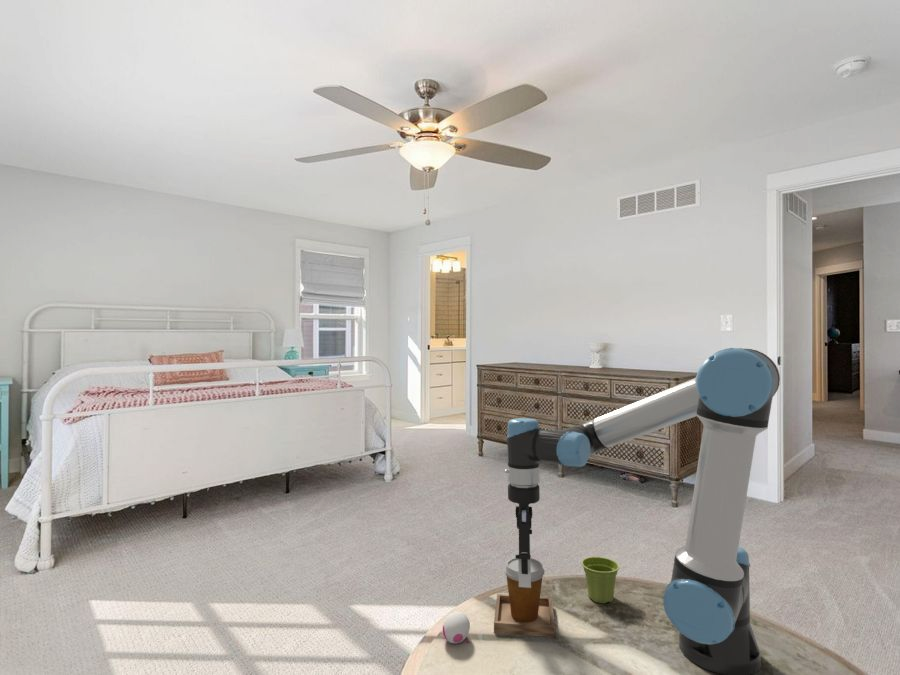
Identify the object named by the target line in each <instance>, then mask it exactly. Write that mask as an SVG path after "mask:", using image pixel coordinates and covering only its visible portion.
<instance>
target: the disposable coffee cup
mask: <svg viewBox="0 0 900 675" xmlns="http://www.w3.org/2000/svg"><path fill="white" fill-rule="evenodd" d="M503 570H504V573H505V576H506V582H507V583H506V584H507V591H508V594H509V600H510V608H511V616H512V617H513V618H514V619H515V620H517V621H520V622H532V621H535V620H536V619H537V618H538V610H539V602H540V597H541V592H542V591H541V590H542V584H543V577H544V575H545V568H544V567H543V564H542V562H540V561H539V560H537V559H535V558H533V557H531V588H526V587H519V566H518V559H516V557H512V558H510V559H508V560H507V561H506V563H505V566H504V568H503Z"/></svg>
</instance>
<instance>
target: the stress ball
mask: <svg viewBox="0 0 900 675" xmlns="http://www.w3.org/2000/svg"><path fill="white" fill-rule="evenodd" d="M470 623H471V622H470V619H469V617H468V616H467V614H466V613H464V612H462V611H453V612H451V613H450V614H448V615H447V616H446V617H445V619H444V621H443V624H442V634H443V638H444V640H446V641H447V642H448V643H450V644H459V643H462V642H463V641H464V640H465V639H466V643H467V644H468V643H469V640H468V639H467V636H468V635H469V632H470V628H471V624H470Z"/></svg>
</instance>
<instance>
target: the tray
mask: <svg viewBox="0 0 900 675" xmlns="http://www.w3.org/2000/svg"><path fill="white" fill-rule="evenodd" d="M494 608H495V611H494V618H493V620H494V621H493V633H495V634H496V633H497V634H507V635H509V634H510V635H520V636H521V635H522V636H532V637H533V636H534V637H546V638H556V624H555V616H554V605H553V598H552V597H549V596H548V597H547V596H540V602H539V610H538V618H537V619H536V620H535V621H532V622H520V621H517V620H515V619H514V618H513V617H512V616H511V608H510V600H509V593H508V594H506V593H497V594H496V601H495V607H494Z"/></svg>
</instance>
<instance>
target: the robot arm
mask: <svg viewBox="0 0 900 675" xmlns="http://www.w3.org/2000/svg"><path fill="white" fill-rule="evenodd" d="M780 381H781V378H780V372H779V368H778V367H777V365H776V363H775V362H774V361H773V359H772V358H770V357H769V356H768V355H766V354H765V353H763V352H762V351H759V350H756V349H751V348H742V347H740V348H738V347H729V348H725V349H720V350H718V351H716V352H714V353H713V354H711V355H710V356H708V357H707V358H706V359H705V360H704V361H703V362H702V363H701V365H700V367H699V368H698V370H697V373H696V376H695V377H694V378H692V379H689V380H687V381H684V382H682V383H679V384H676V385H675V386H671V387H669V388H666V389H665V390H663V391H659V392H656V393H655V394H651V395H649V396H647V397H644V398H642V399H640V400H637V401H635V402H632V403H629V404H628V405H625V406H623V407H620V408H617V409H616V410H612V411H610V412H608V413H605V414H603V415H601V416H598V417H595V418H593V419H590V420H588V421H586V422H583V423H580V424H578V425H575V426H572V427H567V428H564V429H560V430H555V429H543V428H540V425H539V421H538V419H535V418H527V417H518V418H517V417H516V418H513V419H510V420H509V421H508V422H507V432H506V433H507V436H506V444H507V469H505V470H504V472H505V474H507V482H508V484H507V499H508V500H509V501H510V502H511V503H514V504H518V505H517V506H515V518H516V528H517V529H518V554H515V558H516V559H518V566H519V587H526V588H531V558H532V556H531V535H533V529H532V518H533V506H530V505H531V504H536V503H538V502H540V498H541V497H540V496H541V495H540V485H539V483H540V479H541V478H540V462H541V463H547V464H553V465H561V466H566V467H568V468H569V467H570V468H571V467H578V468H581V467H584V466H585V465H586V464H587V463H588V461H589V458H590V455H593V454H596V453H598V452H601V451H604V450H606V449H609V448H611V447H614V446H617V445H620V444H622V443H626V442H628V441H631V440H634V439H637V438H639V437H642V436H645V435H649V434H650V433H654V432H656V431H659V430H662V429H664V428H668V427H670V426H673V425H675V424H679V423H680V422H681V423H682V422H683V421H687V420H689V419H692V418H695V417H697V418H698V419H699V421H700V422H701V423H702V425H703V428H702V433H701V434H702V435H701V440H700V447H699V449H700V450H699V454H698V460H697V468H696V473H695V474H696V475H695V479H694V480H695V481H694V487H693V492H692V493H693V494H692V500H691V507H690V513H689V521H688V526H687V534H686V540H685V545H683V546H681V547H679V548H678V549H676V551H675V554H674V561H673V567H672V568H673V569H672V574H671V579H670V582H669V583H668V584H667V585H666V586H665V589H664V592H663V598H662V600H663V602H662V605H663V610H664V611H665V614H666V617H667V619H668V620H670V622H671V623H672V625H673V627H674V628H675V629H676V630H677V631H678V632H679V633H678V644H679V650H680V652H681V653H682V654H683V656H684V657H686V658H687V659H688V660H689V661H691V662H692V663H693V664H695V665H697V666H699V667H700V668H703V669H704V670H707V671H710V672H713V673H715V674H719V675H750V674H752V675H755V674H756V673H758V672H759V671H760V669H761V666H762V661H761V660H762V658H761V657H762V656H761V650H760V647H759V644H758V641H757V638H756V635H755V633H754V630H753V627H752V625H751V600H750V598H751V597H750V596H751V594H750V586H751V585H750V567H751V563H750V558H749V553H748V551H747V550H746V549H744V548H743V547H742V546H740V540H741V533H742V527H743V520H744V514H745V508H746V501H747V495H748V489H749V484H750V476H751V470H752V466H753V465H752V463H753V458H754V451H755V447H756V446H755V444H756V439H757V436H758V435H759V434H760V433H762V432H764V431H766V430H767V429H768V427H769V421H770V415H771V410H772V409H771V408H772V403H773V398H774V397H775V395H776V393H777V392H778V390H779V387H780ZM757 671H758V672H757ZM754 673H755V674H754Z"/></svg>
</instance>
